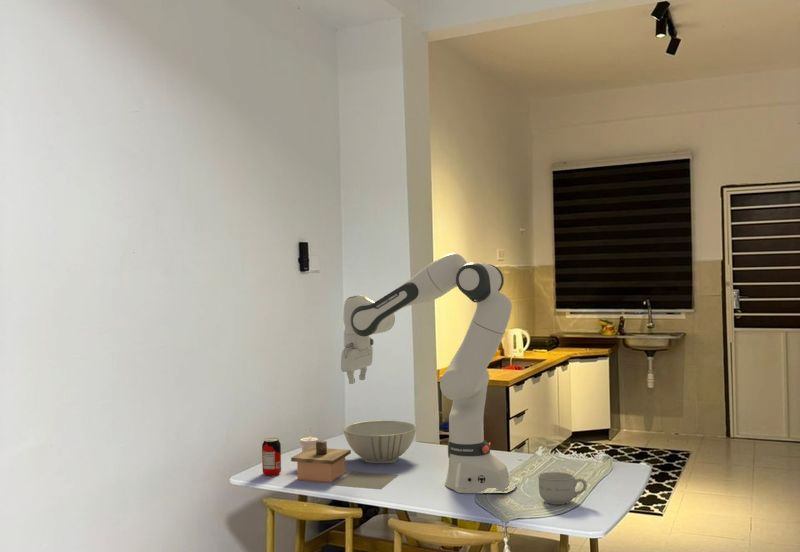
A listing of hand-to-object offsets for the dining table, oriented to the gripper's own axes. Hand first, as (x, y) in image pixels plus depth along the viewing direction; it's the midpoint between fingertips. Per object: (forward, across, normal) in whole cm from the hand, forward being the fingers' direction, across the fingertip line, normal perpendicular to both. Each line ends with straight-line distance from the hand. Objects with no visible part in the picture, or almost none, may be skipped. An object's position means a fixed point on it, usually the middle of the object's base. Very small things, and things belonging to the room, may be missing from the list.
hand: (357, 381), depth 247 cm
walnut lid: (+24, -11, +9) cm, 28 cm away
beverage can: (+31, -11, +28) cm, 43 cm away
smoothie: (+31, +2, +20) cm, 37 cm away
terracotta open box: (+31, -11, +9) cm, 34 cm away
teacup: (+31, -16, -71) cm, 79 cm away
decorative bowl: (+31, +16, -2) cm, 35 cm away
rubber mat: (+31, -11, -7) cm, 34 cm away
